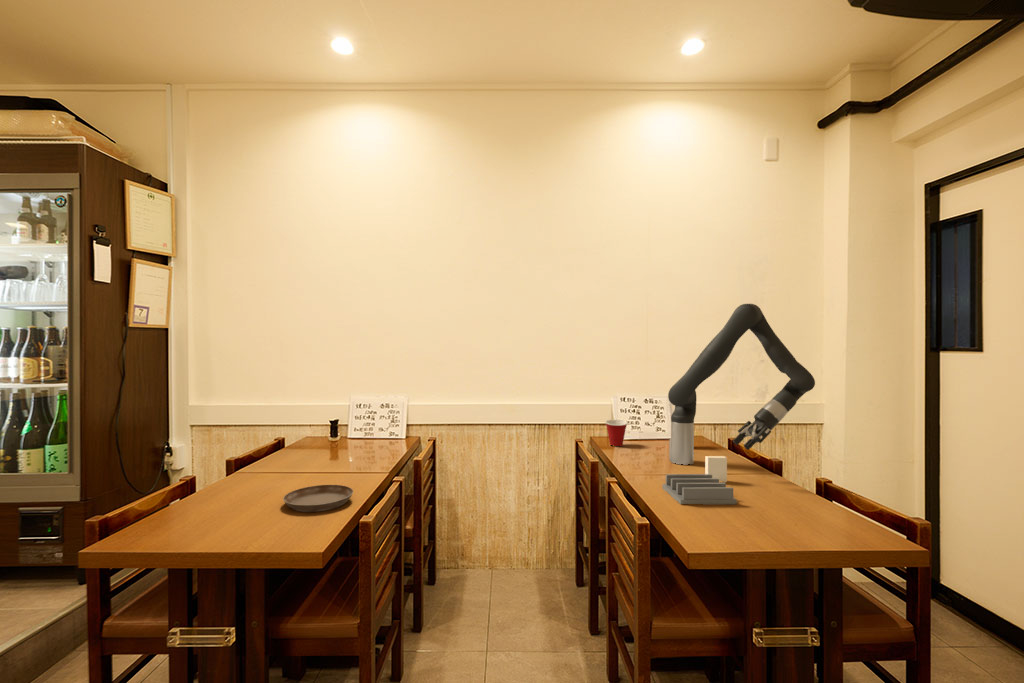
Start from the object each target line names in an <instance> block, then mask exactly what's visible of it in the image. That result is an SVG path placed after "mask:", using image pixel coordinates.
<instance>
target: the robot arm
mask: <svg viewBox="0 0 1024 683" xmlns="http://www.w3.org/2000/svg"><path fill="white" fill-rule="evenodd" d="M748 330H750V331H751V333H753V335H755V337H756V338H757V340H758V341H759V342H760V344H761V346H762V348H763V349H764V351H765V353H766V355H767V357H768V358H769V359H770V361H771V362H772V363H773V364H774V366H775V367H776V368H777V369H778V371H779V372H780V373H782V374H785V375H786V376H787V377H788V379H789V380H788V381H787V383H786V384H785V385H784V386H783V388H782V389H781V390H779V391H778V392H777V393H776V394H775V395H774V396H773V397H772V399H770V400H769V401H768V402H767V403H765V404H764V405H763V406H762V407H761V408H760V409H759V410H758V411H757V412H756V413H755V414H754V415H753V418H754V421H753V422H751V421H750V420H747V421H746V422H745V423H744V424H743V425H742V427H740V428H739V429H738V430H737V433H738V435H737V436H736V437H735V438H734V439H733V440H732V443H733V444H734V445H736V446H738V445H740V443H741V442H743V440H744V439H746V438H747V437H750V438H749V439H748V440H747V441H746V442H745V443H744V444H743V447H744V449H745V450H747V451H749V450H750V449H751V448H753V447H754V445H755V444H758V443H759V444H761V443H763V441H764V440H766V438H767V437H768V436H769V435H770V434H771V433H772V430H773V429H774V428H775V427H776V426H777V425H778V424H779V423H780V422H781V421H782V420H783V419H784V417H786V415H787V414H788V413H789V412H790V411H791V410H792V409H793V408H794V407H795V405H796V404H797V403H798V401H799V399H801V398H802V397H803V395H805V394H806V393H808V392H810V391H811V390H813V389H814V388H815V385H816V380H815V378H814V376H813V375H812V374H811V372H810V371H809V370H808V368H805V367H804V366H803V364H801V363H800V362H798V360H797V359H796V358H795V356H794V355H793V354H792V353H791V352H790V350H789V348H787V347H786V345H785V344H784V343H783V342H782V340H781V339H780V338H779V337H778V336H777V333H775V331H774V329H773V328H772V327H771V326H770V324H769V321H767V318H766V317H765V315H764V313H763V311H762V309H761V308H760V307H759V306H758V305H757V304H754V303H743V304H740V305H739V306H737V307H736V308H735V309H734V310H733V312H732V314H731V315H730V317H729V318H728V320H727V321H726V324H725V325H724V327H723V328H722V329H721V330H720V331H719V332H718V333H717V334H716V335H715V336H714V337H713V338H712V339H711V341H710V342H709V343H708V344H707V345H706V346H705V348H704V349H703V350H702V351H701V353H700V354H699V355H698V356H697V358H696V359H695V360H694V361H693V363H692V364H691V365H690V367H689V368H688V370H687V371H686V372H685V373H684V374H683V375H682V376H681V378H680V379H678V380H677V381H676V382H675V383H674V384H673V385H672V386H671V387H670V388H669V391H668V395H667V398H668V401H669V403H670V404H671V405H672V406H674V410H673V412H672V414H671V416H670V438H669V444H668V445H669V446H668V447H669V448H668V449H669V453H668V455H669V456H668V458H669V461H670V463H672V464H675V463H676V464H677V465H681V464H683V466H684V465H685V466H686V465H688V464H690V465H693V464H694V461H695V460H694V458H695V457H694V454H695V453H694V448H695V442H694V441H695V439H694V438H695V436H694V435H695V429H694V428H695V417H696V414H697V391H696V389H698V387H699V386H700V385H702V383H704V381H706V380H707V379H709V378H710V377H711V376H712V375H714V374H715V373H716V372H717V371H718V370H720V368H721V367H722V365H723V364H724V363H726V361H727V360H728V359H729V357H730V356H731V353H732V352H733V349H734V348H735V346H736V344H737V343H738V341H739V340H740V339H741V337H743V336H744V334H745V333H747V331H748Z"/></svg>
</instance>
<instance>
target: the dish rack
mask: <svg viewBox="0 0 1024 683" xmlns="http://www.w3.org/2000/svg"><path fill="white" fill-rule="evenodd" d="M726 483H727V482H719V479H718V478H712V475H711V474H705V473H695V474H694V473H686V474H685V473H680V474H679V473H675V474H674V473H673V474H672V473H671V474H669V473H668V474H665V483H662V490H664V491H665V492H666V491H667V492H668V493H669V494H670V495H671V496H670V495H669V494H668V493H667V492H666V493H667V494H668V495H669V496H670V497H671V498H673V499H674V500H675V501H676V502H677V501H678V502H679V503H678V502H677V503H678V504H679V505H681V504H703V505H737V504H738V499H736V498H735V497H734V488H733V487H731V486H730V487H729V486H727V484H726Z"/></svg>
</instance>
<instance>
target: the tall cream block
mask: <svg viewBox="0 0 1024 683" xmlns="http://www.w3.org/2000/svg"><path fill="white" fill-rule="evenodd" d="M704 458H705V459H704V460H705V461H704V468H705V469H704V474H711V475H712V478H718V479H719V481H722V482H721V483H727V482H728V457H727V456H725V455H714V456H713V455H709V456H708V455H707V456H706V455H705V456H704ZM723 481H724V482H723Z"/></svg>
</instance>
